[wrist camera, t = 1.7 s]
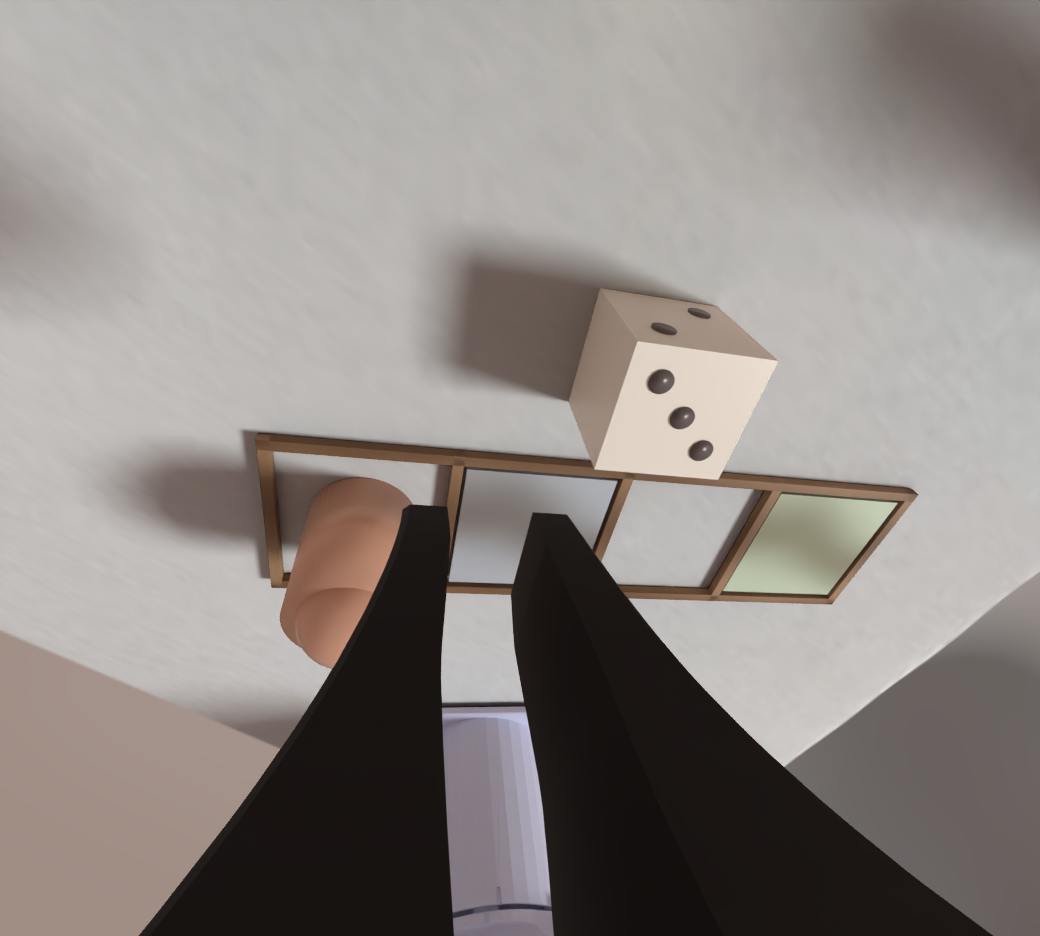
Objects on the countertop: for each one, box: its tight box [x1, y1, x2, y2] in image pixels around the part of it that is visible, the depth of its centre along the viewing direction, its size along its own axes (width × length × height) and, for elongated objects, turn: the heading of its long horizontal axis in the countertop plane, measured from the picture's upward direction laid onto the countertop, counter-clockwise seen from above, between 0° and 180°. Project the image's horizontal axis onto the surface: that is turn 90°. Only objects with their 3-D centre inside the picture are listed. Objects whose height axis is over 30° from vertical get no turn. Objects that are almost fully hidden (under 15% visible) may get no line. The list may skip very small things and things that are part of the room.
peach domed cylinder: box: [280, 478, 413, 669], centre depth 19 cm, size 4×4×6 cm
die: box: [569, 288, 778, 480], centre depth 17 cm, size 4×4×4 cm
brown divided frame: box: [255, 433, 918, 604], centre depth 23 cm, size 7×26×1 cm, turn 79°
